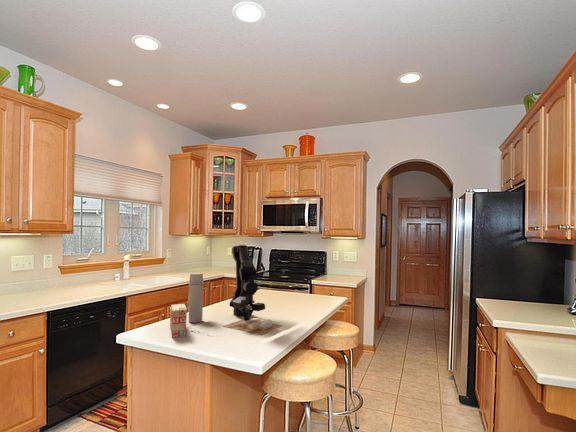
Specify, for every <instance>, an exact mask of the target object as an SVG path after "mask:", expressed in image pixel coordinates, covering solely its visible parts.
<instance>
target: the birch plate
mask: <svg viewBox="0 0 576 432" xmlns="http://www.w3.org/2000/svg"><path fill="white" fill-rule="evenodd" d="M264 321H267V320H266V319H262V318H257V317H253V318H250V320H247V321H244V322H242V328H247V329H251V330H254V329H257V328H259V327H261V322H264Z"/></svg>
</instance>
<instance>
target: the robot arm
mask: <svg viewBox="0 0 576 432" xmlns="http://www.w3.org/2000/svg"><path fill="white" fill-rule="evenodd" d="M231 254H232V258H233V260H234V262H235V287H236V288H235V290H234V292H233V294H232V298H231V300H230V301H229V307H232V308H233V312H232V313H233V316H235V317H243V319H245V321H247V320H249V319H251V317H252V315H253V312H261V311H264V310H266V304H265V303H262V302H256V303H255V300H254V295H255V293H256V292H258V284H257V283H256V282H255V281H256V280H258V276H259V275H258V271H257V268H256V267H255V264H254V263H253V262H252V261H251V260H250V255H249V247H248V245H246V244H239V245H234V246H233V247H232V248H231Z"/></svg>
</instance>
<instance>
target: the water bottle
mask: <svg viewBox="0 0 576 432" xmlns="http://www.w3.org/2000/svg"><path fill="white" fill-rule="evenodd" d="M187 284H188V294H187V295H188V296H187V305H186V306H187V307H186V309H187V312H188V322H189V323H194V324H197V323H201V322H202V321H203V311H204V310H203V309H204V308H203V306H204V305H203V303H204V301H203V300H204V274H203V273H202V272H191V273H190V274H189V282H187Z"/></svg>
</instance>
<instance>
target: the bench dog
mask: <svg viewBox="0 0 576 432" xmlns="http://www.w3.org/2000/svg"><path fill="white" fill-rule="evenodd" d="M272 324H273V319H267V320H266V321H264V322H261V330H262V331H264V330H267V329H269V328H272Z"/></svg>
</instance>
